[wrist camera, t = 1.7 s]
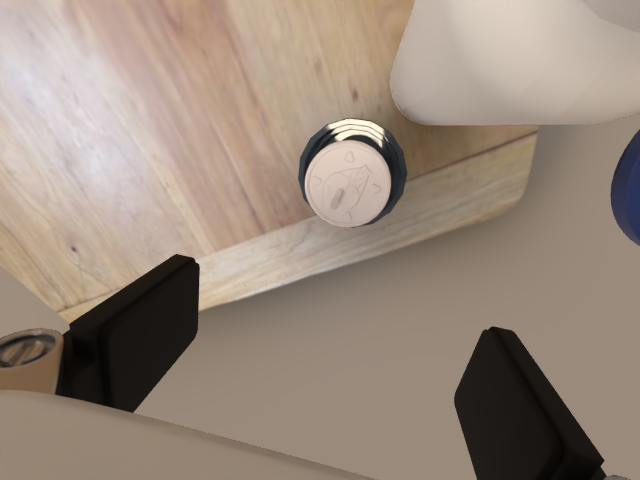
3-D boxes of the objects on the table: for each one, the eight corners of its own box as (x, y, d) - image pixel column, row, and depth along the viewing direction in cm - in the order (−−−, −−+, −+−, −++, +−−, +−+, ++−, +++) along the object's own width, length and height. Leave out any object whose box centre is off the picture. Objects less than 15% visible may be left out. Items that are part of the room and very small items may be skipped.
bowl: (410, 126, 30) (417, 126, 25) (390, 219, 33) (393, 234, 29) (314, 114, 31) (304, 112, 26) (304, 206, 34) (294, 218, 29)
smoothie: (309, 166, 32) (268, 193, 19) (358, 121, 30) (348, 118, 17) (349, 212, 33) (335, 268, 20) (399, 172, 31) (419, 206, 18)
